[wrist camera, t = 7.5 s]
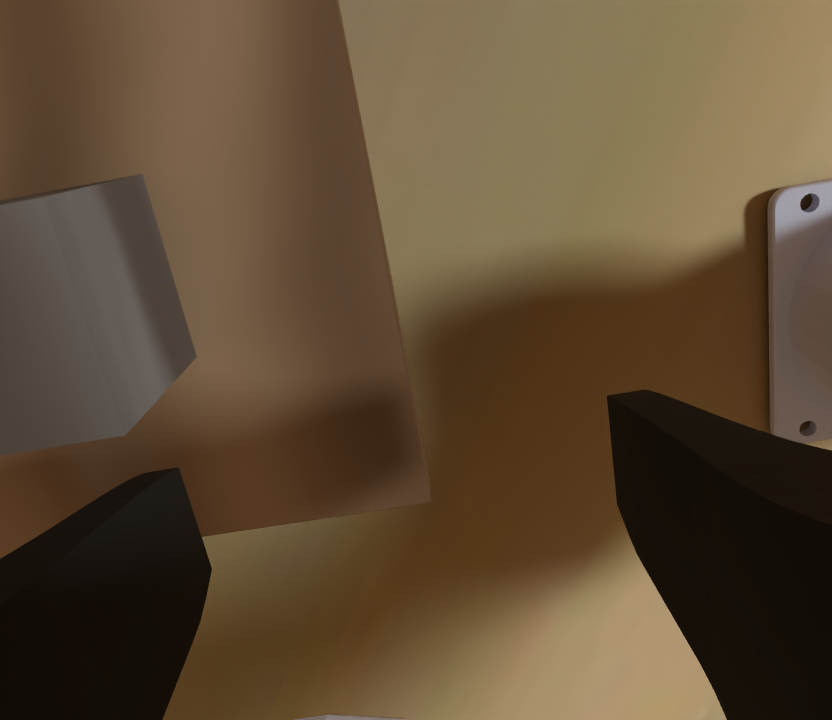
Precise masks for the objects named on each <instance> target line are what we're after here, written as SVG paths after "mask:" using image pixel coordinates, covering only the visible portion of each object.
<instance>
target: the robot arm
mask: <svg viewBox="0 0 832 720" xmlns="http://www.w3.org/2000/svg"><path fill="white" fill-rule="evenodd" d="M807 194H811V196H812V203H811V205H810V206H809V207H808V209H805V210H802V209H801V207H800V203H801V199H802V198H803V197H804V196H805V195H807ZM768 289H769V376H770V430H771V434H769V433H766V432H763V431H759V430H756V429H753V428H750V427H748V426H745V425H742V424H739V423H736V422H733V421H731V420H728V419H725V418H723V417H720V416H717V415H715V414H712V413H709V412H707V411H704V410H702V409H699V408H696V407H694V406H691V405H689V404H686V403H684V402H681V401H679V400H676V399H673V398H671V397H668V396H665V395H662V394H659V393H656V392H653V391H649V390H639V391H633V392H627V393H621V394H615V395H609V396H607V401H608V411H609V422H610V433H611V444H612V454H613V465H614V476H615V486H616V497H617V505H618V508H619V510H620V513H621V516H622V518H623V521H624V523H625V526H626V529H627V531H628V534H629V536H630V538H631V541H632V543H633V546H634V548H635V551H636V553H637V555H638V557H639V558H640V560H641V562H642V564H643V566H644V567H645V569H646V571H647V573H648V574H649V576H650V578H651V580H652V581H653V583H654V585H655V587H656V588H657V590H658V592H659V594H660V595H661V597H662V599H663V601H664V602H665V604H666V606H667V607H668V609H669V611H670V613H671V614H672V616H673V618H674V619H675V621H676V623H677V625H678V626H679V628H680V630H681V631H682V633H683V635H684V637H685V638H686V640H687V642H688V644H689V645H690V647H691V649H692V650H693V652H694V654H695V656H696V657H697V659H698V661H699V662H700V664H701V666H702V668H703V670H704V672H705V674H706V676H707V678H708V680H709V682H710V683H711V685H712V687H713V689H714V691H715V693H716V696H717V698H718V700H719V702H720V705H721V707H722V709H723V711H724V714H725V716H726V718H727V720H832V451H831V450H826V449H822V448H818V447H813V446H810V445H806V444H802V443H805V442H812V441H818V440H825V439H832V179H827V180H822V181H816V182H810V183H804V184H799V185H793V186H787V187H783V188H781V189H778V190H777V191H776V192H775V193H774V194H773V195H772V196H771V198H770V200H769V203H768ZM806 421H810V425H809V427H808V428H807V429H805V430H802V431H799V429H800V426H801V425H802V424H803V423H804V422H806ZM211 571H212V568H211V565H210V562H209V559H208V556H207V553H206V549H205V546H204V543H203V540H202V537H201V534H200V531H199V528H198V525H197V522H196V519H195V516H194V512H193V509H192V506H191V503H190V500H189V497H188V494H187V491H186V488H185V485H184V482H183V479H182V475H181V472H180V469H179V467H177V468H171V469H165V470H159V471H153V472H147V473H143V474H140V475H138V476H136V477H133V478H131V479H129V480H127V481H126V482H124V483H122V484H120V485H118V486H117V487H115V488H113V489H112V490H110V491H108V492H107V493H105V494H103V495H102V496H100V497H99V498H97V499H95V500H94V501H92V502H91V503H89V504H87V505H86V506H84V507H83V508H81V509H80V510H78V511H76V512H75V513H73V514H72V515H70V516H69V517H67V518H66V519H64V520H62V521H61V522H59V523H58V524H56V525H55V526H53V527H51V528H50V529H48V530H47V531H45V532H44V533H42V534H40V535H39V536H37V537H35V538H34V539H32V540H30V541H29V542H27V543H25V544H24V545H22V546H20V547H19V548H17V549H15V550H14V551H12V552H11V553H9V554H7V555H6V556H4V557H2V558H1V559H0V720H162V719H163V716H164V714H165V711H166V709H167V706H168V704H169V701H170V699H171V696H172V694H173V691H174V689H175V686H176V683H177V681H178V678H179V676H180V673H181V671H182V668H183V666H184V663H185V661H186V658H187V655H188V653H189V650H190V647H191V645H192V642H193V640H194V637H195V634H196V632H197V629H198V626H199V623H200V620H201V616H202V612H203V608H204V604H205V600H206V595H207V590H208V585H209V581H210V576H211ZM294 720H407V719H403V718H391V717H373V716H355V715H338V714H328V715H321V716H315V717H308V718H301V719H294Z"/></svg>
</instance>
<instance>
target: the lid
mask: <svg viewBox="0 0 832 720" xmlns="http://www.w3.org/2000/svg"><path fill="white" fill-rule="evenodd" d="M177 467H179V469H180V472H181V475H182V479H183V482H184V485H185V488H186V491H187V494H188V497H189V500H190V503H191V506H192V509H193V512H194V516H195V519H196V522H197V525H198V528H199V531H200V534H201V537H203V536H210V535H216V534H223V533H230V532H236V531H243V530H250V529H256V528H263V527H270V526H276V525H283V524H290V523H297V522H303V521H310V520H317V519H323V518H330V517H337V516H343V515H350V514H357V513H363V512H370V511H377V510H384V509H390V508H397V507H404V506H410V505H417V504H424V503H430V502H431V480H430V475H429V470H428V465H427V460H426V454H425V449H424V444H423V439H422V434H421V428H420V423H419V418H418V413H417V408H416V402H415V397H414V392H413V387H412V382H411V376H410V371H409V366H408V361H407V355H406V350H405V345H404V340H403V335H402V329H401V324H400V319H399V314H398V309H397V303H396V298H395V293H394V288H393V283H392V277H391V272H390V267H389V262H388V257H387V251H386V246H385V241H384V236H383V231H382V225H381V220H380V215H379V210H378V205H377V199H376V194H375V189H374V184H373V178H372V173H371V168H370V163H369V158H368V152H367V147H366V142H365V137H364V132H363V126H362V121H361V116H360V111H359V106H358V100H357V95H356V90H355V85H354V80H353V74H352V69H351V64H350V59H349V54H348V48H347V43H346V38H345V33H344V28H343V22H342V17H341V12H340V7H339V1H338V0H0V559H1V558H2V557H4V556H6V555H7V554H9V553H11V552H12V551H14V550H15V549H17V548H19V547H20V546H22V545H24V544H25V543H27V542H29V541H30V540H32V539H34V538H35V537H37V536H39V535H40V534H42V533H44V532H45V531H47V530H48V529H50V528H51V527H53V526H55V525H56V524H58V523H59V522H61V521H62V520H64V519H66V518H67V517H69V516H70V515H72V514H73V513H75V512H76V511H78V510H80V509H81V508H83V507H84V506H86V505H87V504H89V503H91V502H92V501H94V500H95V499H97V498H99V497H100V496H102V495H103V494H105V493H107V492H108V491H110V490H112V489H113V488H115V487H117V486H118V485H120V484H122V483H124V482H126V481H127V480H129V479H131V478H133V477H136V476H138V475H140V474H143V473H147V472H153V471H159V470H165V469H171V468H177Z"/></svg>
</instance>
